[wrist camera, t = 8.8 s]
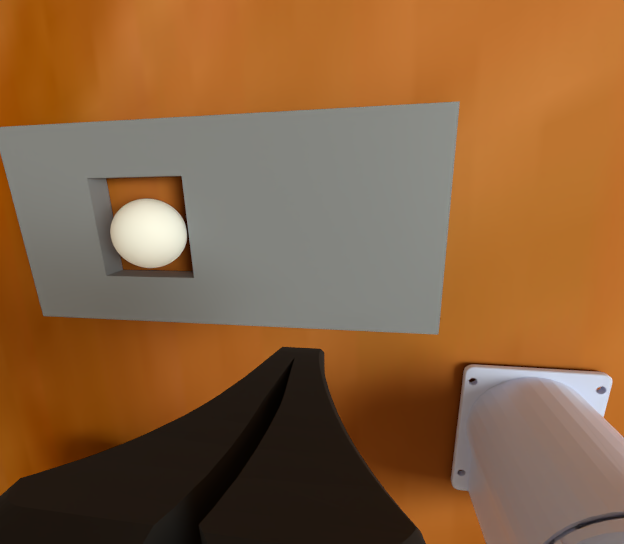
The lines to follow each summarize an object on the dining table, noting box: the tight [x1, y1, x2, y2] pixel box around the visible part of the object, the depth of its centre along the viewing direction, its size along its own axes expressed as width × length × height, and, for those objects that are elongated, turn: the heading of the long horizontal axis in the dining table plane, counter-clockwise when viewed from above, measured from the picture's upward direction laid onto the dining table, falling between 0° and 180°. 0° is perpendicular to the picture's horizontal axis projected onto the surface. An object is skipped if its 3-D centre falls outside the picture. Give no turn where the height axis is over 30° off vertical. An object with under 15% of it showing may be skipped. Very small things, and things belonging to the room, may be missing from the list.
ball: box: [110, 199, 187, 268], centre depth 19 cm, size 4×4×4 cm
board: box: [0, 102, 460, 334], centre depth 20 cm, size 12×26×2 cm, turn 91°
